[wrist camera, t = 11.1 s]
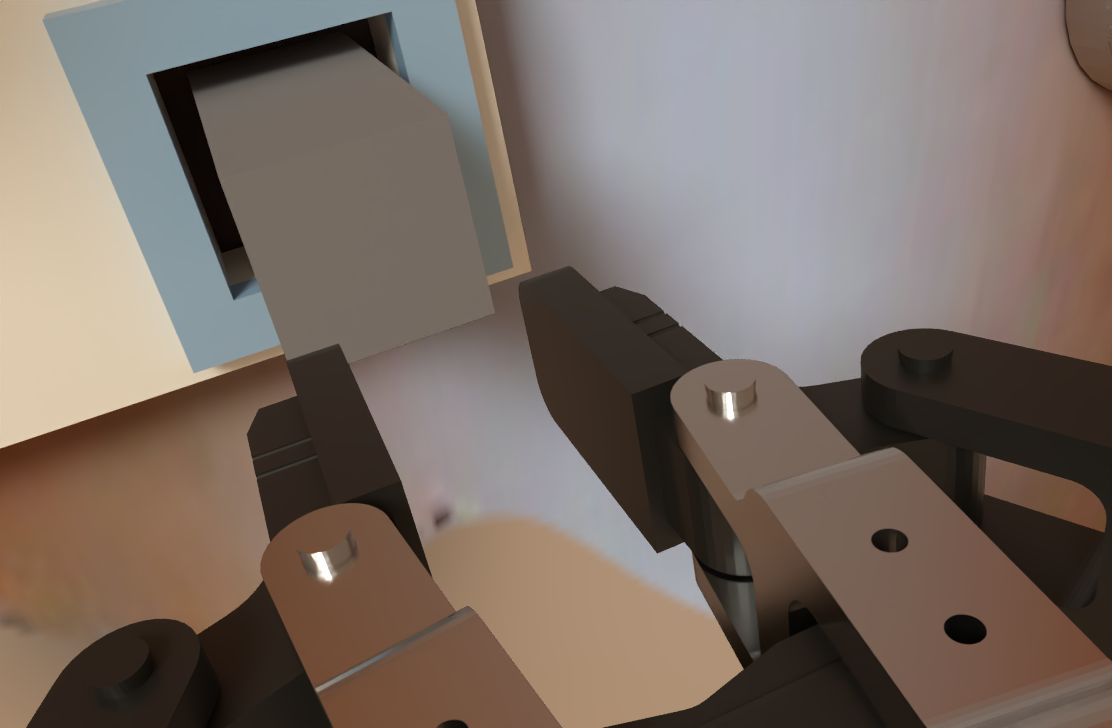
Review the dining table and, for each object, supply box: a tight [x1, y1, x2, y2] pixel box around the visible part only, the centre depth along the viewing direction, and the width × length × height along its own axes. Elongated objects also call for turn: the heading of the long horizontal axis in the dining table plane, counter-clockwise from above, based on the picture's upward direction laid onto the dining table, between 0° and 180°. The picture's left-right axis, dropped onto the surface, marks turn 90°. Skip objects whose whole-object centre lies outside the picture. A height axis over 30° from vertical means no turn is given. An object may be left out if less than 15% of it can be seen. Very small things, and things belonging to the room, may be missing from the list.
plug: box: [187, 31, 495, 364], centre depth 22 cm, size 4×4×10 cm
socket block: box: [0, 0, 532, 448], centre depth 23 cm, size 21×10×4 cm, turn 102°
